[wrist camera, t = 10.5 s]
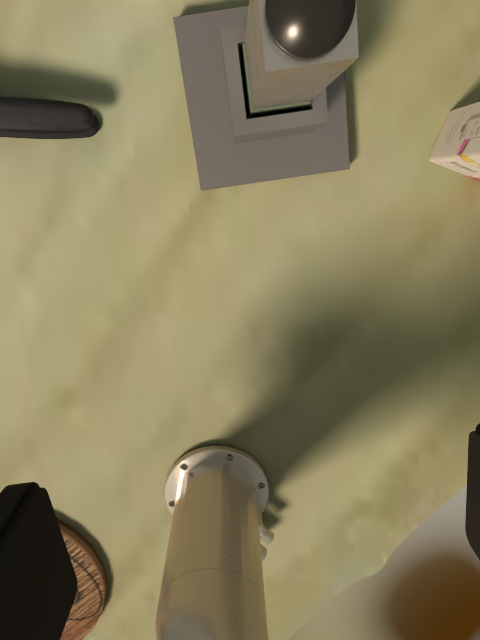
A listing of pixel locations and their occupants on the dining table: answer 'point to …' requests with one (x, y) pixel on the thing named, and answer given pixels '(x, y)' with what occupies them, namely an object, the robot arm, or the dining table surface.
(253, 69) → the column
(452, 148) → the ink cartridge box
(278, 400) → the dining table surface
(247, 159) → the stand
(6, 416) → the dining table surface
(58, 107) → the can opener
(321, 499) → the dining table surface
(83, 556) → the trivet
